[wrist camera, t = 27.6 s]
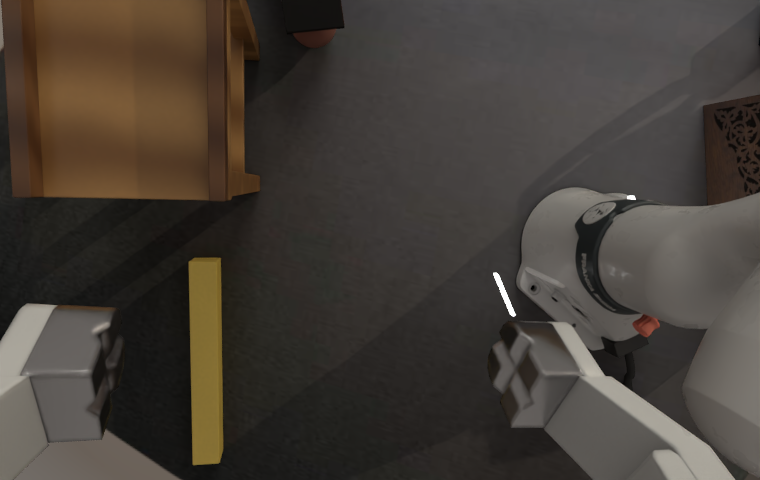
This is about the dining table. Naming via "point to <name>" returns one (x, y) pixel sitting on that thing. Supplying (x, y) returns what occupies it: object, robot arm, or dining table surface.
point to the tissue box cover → (732, 149)
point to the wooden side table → (128, 98)
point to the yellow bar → (206, 360)
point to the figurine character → (313, 20)
